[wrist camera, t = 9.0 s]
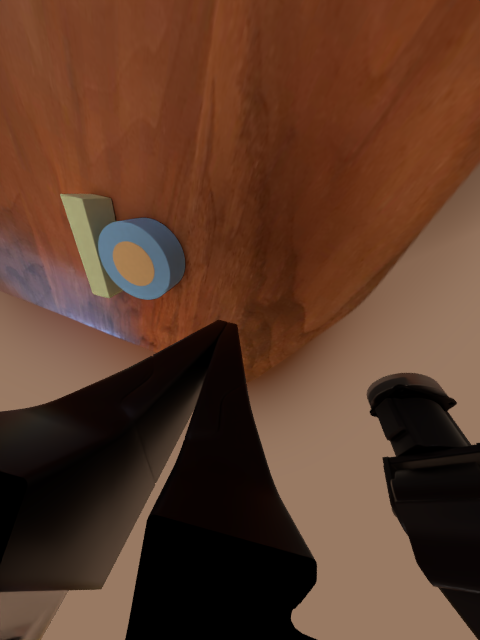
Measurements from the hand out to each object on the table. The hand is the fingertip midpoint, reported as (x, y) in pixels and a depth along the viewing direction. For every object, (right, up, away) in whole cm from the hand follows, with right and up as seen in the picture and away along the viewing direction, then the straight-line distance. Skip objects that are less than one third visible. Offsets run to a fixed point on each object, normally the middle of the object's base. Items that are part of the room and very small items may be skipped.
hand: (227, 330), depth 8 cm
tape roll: (-8, +7, +11) cm, 16 cm away
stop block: (-13, +8, +12) cm, 19 cm away
